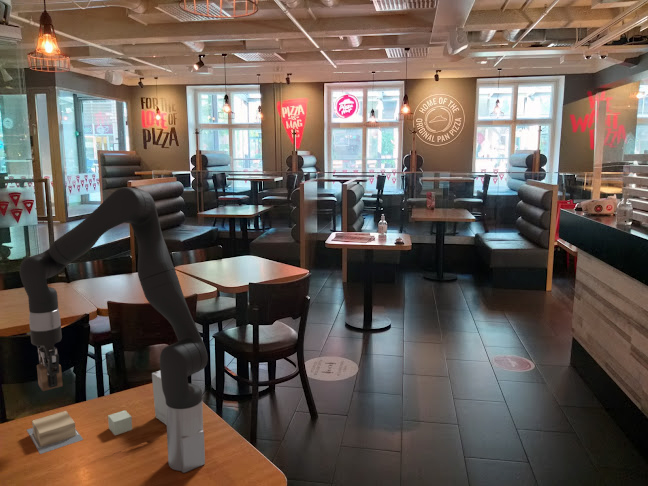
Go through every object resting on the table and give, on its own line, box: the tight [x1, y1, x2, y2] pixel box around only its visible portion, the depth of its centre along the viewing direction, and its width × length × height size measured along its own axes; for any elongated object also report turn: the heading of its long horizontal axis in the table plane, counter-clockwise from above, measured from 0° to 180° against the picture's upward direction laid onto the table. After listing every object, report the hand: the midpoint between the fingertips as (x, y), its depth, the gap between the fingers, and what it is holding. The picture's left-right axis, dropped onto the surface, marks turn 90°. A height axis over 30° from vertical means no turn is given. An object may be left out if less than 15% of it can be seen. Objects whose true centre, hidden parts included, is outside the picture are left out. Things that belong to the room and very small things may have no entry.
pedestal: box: [31, 410, 77, 447], centre depth 146 cm, size 9×9×4 cm
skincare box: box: [151, 370, 167, 426], centre depth 157 cm, size 8×6×15 cm
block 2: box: [107, 409, 133, 436], centre depth 150 cm, size 5×5×5 cm
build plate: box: [26, 427, 84, 455], centre depth 147 cm, size 16×11×1 cm
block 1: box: [36, 362, 64, 392], centre depth 144 cm, size 5×5×6 cm
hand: (50, 382), depth 144 cm, fingers closed on block 1, 5 cm apart
